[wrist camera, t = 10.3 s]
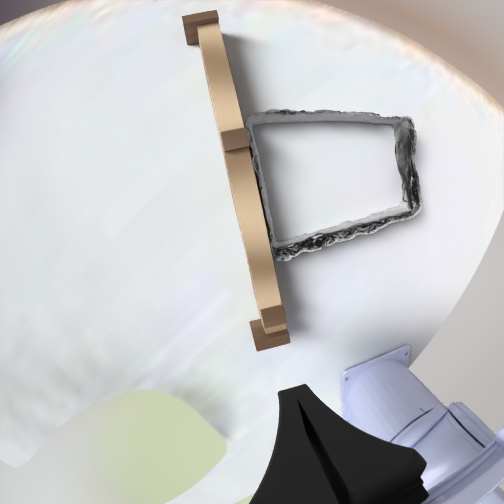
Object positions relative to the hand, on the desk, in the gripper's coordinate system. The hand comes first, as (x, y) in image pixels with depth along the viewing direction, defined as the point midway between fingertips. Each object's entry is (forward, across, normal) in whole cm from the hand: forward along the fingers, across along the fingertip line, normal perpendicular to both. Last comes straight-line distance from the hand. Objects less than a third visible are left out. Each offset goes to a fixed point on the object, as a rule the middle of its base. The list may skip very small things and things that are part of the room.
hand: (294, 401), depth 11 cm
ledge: (+10, 0, -11) cm, 15 cm away
